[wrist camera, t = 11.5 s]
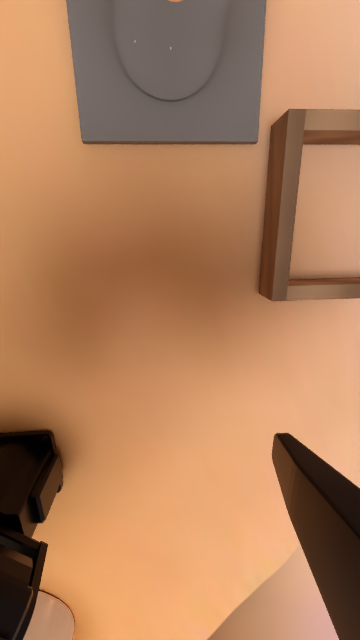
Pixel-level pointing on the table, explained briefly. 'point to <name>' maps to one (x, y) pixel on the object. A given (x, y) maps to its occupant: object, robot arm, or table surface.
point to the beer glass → (169, 43)
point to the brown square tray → (283, 198)
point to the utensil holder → (50, 620)
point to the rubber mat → (161, 115)
